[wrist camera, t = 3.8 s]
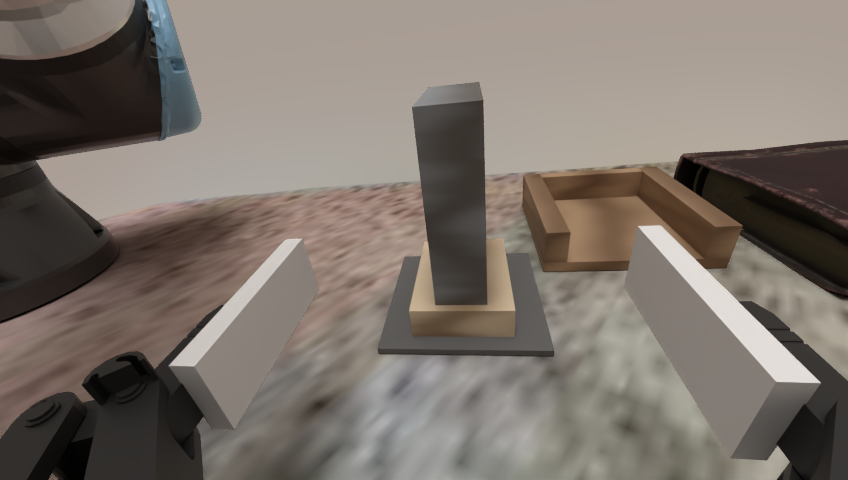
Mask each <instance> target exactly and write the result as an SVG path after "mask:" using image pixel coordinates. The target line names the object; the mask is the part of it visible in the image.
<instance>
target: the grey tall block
mask: <svg viewBox="0 0 848 480" xmlns="http://www.w3.org/2000/svg"><path fill="white" fill-rule="evenodd" d="M412 111H413V119H414V128H415V135H416V145H417V153H418V162H419V170H420V179H421V187H422V196H423V204H424V213H425V221H426V230H427V238H428V241H424V246H423V250H422V255H421V259H420V264H419V268H418V273H417V277H416V282H415V286H414V291H413V295H412V300H411V304H410V309H409V315H410V321H411V326H412V332H413V336H437V337H515V305H514V299H513V293H512V287H511V282H510V276H509V270H508V264H507V258H506V252H505V246H504V240H503V239H486V210H485V162H484V116H483V115H484V114H483V97H482V93H481V88H480V84H479V82H475V83H466V84H457V85H446V86H437V87H429V88H428V89H427V90H426V91H425V92H424V93H423V95H422V96H421V97H420V98H419V99H418V101H417V102H416V103H415V104H414V105H413V106H412Z"/></svg>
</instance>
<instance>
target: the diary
mask: <svg viewBox="0 0 848 480" xmlns="http://www.w3.org/2000/svg"><path fill="white" fill-rule="evenodd" d="M674 179H675V180H677V181H678V182H679V183H681V184H682V185H684V186H685V187H687V188H688V189H690V190H691V191H693V192H694V193H696V194H697V195H699V196H700V197H701V198H703V199H704V200H706V201H707V202H709V203H710V204H712V205H713V206H715V207H716V208H718V209H719V210H721V211H722V212H724V213H725V214H726V215H728V216H729V217H731V218H732V219H734V220H735V221H737V222H738V223H740V224H741V225H743V227H742V228H743V229H745V230H741V232H740V235H741V236H742V237H744V238H745V239H747V240H748V241H750V242H751V243H753V244H755V245H756V246H758V247H759V248H761V249H762V250H764V251H765V252H767V253H768V254H770V255H771V256H773V257H774V258H776V259H777V260H779V261H780V262H782V263H783V264H785V265H786V266H787V267H789V268H791V269H792V270H794V271H796V272H797V273H799V274H800V275H802V276H804V277H805V278H807V279H809V280H810V281H812V282H813V283H815V284H817V285H818V286H820V287H822V288H824V289H826V290H828V291H832V292H836V293H840V294H843V295H847V296H848V140H843V141H825V142H815V143H806V144H798V145H790V146H781V147H773V148H765V149H756V150H739V151H720V152H702V153H687V154H683V155H682V156H681V157H680V159H679V162H678V165H677V167H676V171H675V175H674Z"/></svg>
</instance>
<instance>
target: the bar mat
mask: <svg viewBox="0 0 848 480" xmlns="http://www.w3.org/2000/svg"><path fill="white" fill-rule="evenodd" d="M506 258H507V264H508V270H509V276H510V282H511V287H512V293H513V299H514V305H515V337H437V336H413V332H412V326H411V321H410V315H409V309H410V304H411V300H412V295H413V291H414V286H415V282H416V277H417V273H418V268H419V264H420V259H421V256H415V257H405V258H404V261H403V265H402V268H401V271H400V275H399V278H398V281H397V285H396V288H395V292H394V295H393V298H392V302H391V305H390V308H389V312H388V315H387V319H386V322H385V325H384V329H383V332H382V335H381V339H380V342H379V346H378V353H385V354H453V355H522V356H554V348H553V344H552V341H551V337H550V333H549V330H548V326H547V322H546V319H545V315H544V311H543V308H542V304H541V300H540V297H539V293H538V289H537V286H536V282H535V278H534V275H533V271H532V267H531V264H530V260H529V256H528V253H518V254H506Z"/></svg>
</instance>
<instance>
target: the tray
mask: <svg viewBox="0 0 848 480" xmlns="http://www.w3.org/2000/svg"><path fill="white" fill-rule="evenodd" d="M522 205H523V208H524V212H525V215H526V218H527V221H528V224H529V227H530V230H531V233H532V237H533V240H534V243H535V246H536V249H537V252H538V255H539V258H540V262H541V265H542V268H543V271H544V272H550V271H597V270H628V267H629V262H630V258H631V254H632V249H633V245H634V240H635V236H636V231H637V227H638V226H656V225H661V226H662V227H663V228H664V229H665V230H666V231H667V232H668V233H669V234H670V235H671V236H672V237H673V238H674V239H675V240H676V241H677V242H678V243H679V244H680V245H681V246H682V247H683V248H684V249H685V250H686V251H687V252H688V253H689V254H690V255H691V256H692V257H693V258H694V259H695V260H696V261H697V262H698V263H699V264H700V265H702V266H703V267H704V268H726V267H727V265H728V262H729V260H730V257H731V255H732V252H733V250H734V247H735V245H736V242H737V240H738V237H739V235H740V232H741V229H742V227H743V225H741V224H740V223H738V222H737V221H735V220H734V219H732V218H731V217H729V216H728V215H726V214H725V213H724V212H722V211H721V210H719V209H718V208H716V207H715V206H713V205H712V204H710V203H709V202H707V201H706V200H704V199H703V198H701V197H700V196H699V195H697V194H696V193H694V192H693V191H691V190H690V189H688V188H687V187H685V186H684V185H682V184H681V183H679V182H678V181H677V180H675V179H674V178H672V177H671V176H669V175H668V174H666V173H665V172H663V171H662V170H660V169H659V168H657V167H645V168H629V169H613V170H597V171H581V172H565V173H549V174H533V175H524V178H523V204H522Z"/></svg>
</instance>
